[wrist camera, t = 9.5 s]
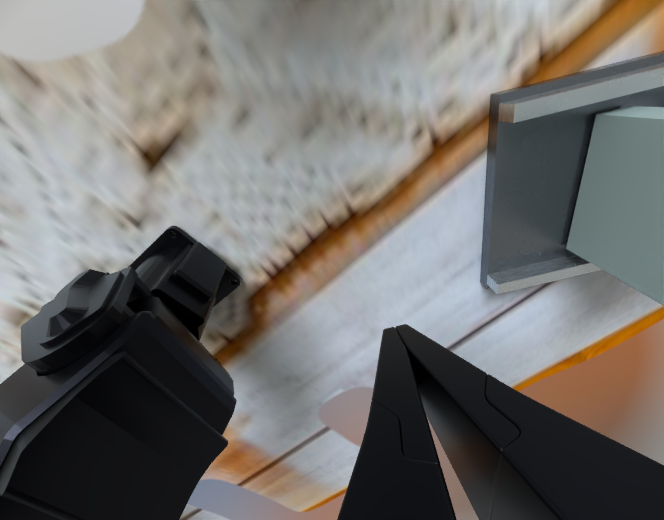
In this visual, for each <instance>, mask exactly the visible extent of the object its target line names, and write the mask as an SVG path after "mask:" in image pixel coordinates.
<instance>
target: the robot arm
mask: <svg viewBox="0 0 664 520" xmlns="http://www.w3.org/2000/svg"><path fill="white" fill-rule="evenodd" d="M171 231H173V232H175V233H176V234H177V236H175V235H173V234H172V233H171ZM232 280H236V281H237V282H233V281H232ZM240 283H241V277H240V276H239V275H238V274H236V273H235V272H234V271H233V270H231V269H230V268H229V267H228V266H226V263H225V262H223V261H222V260H221V259H220V258H218V257H217V256H216V255H215V254H213V253H212V252H211V251H210V250H208V249H207V248H206V247H205V246H203V245H202V244H201V243H198V242H196V241H195V240H194V239H193V238H191V237H190V236H189V235H188V234H186V233H185V232H184V231H183V230H181V229H180V228H178V227H177V226H171V227H169V228H168V229H167V230H166V231H165V232H164V233H163V234H162V235H161V236H160V237H159V238H158V239H157V240H156V241H155V242H154V243H153V244H152V245H150V246H149V247H148V248H147V249H146V250H145V251H144V252H143V253H142V254H141V255H140V256H139V257H138V258H137V259H136V260H135V261H134V262H133V263H132V264H131V265H130V266H129V267H128V268H126V269H123V270H121V271H118V272H115V273H112V274H109V273H108V272H107V273H103V272H99V271H95V270H91V269H90V270H88V271H85V272H83V273H81V274H79V275H78V276H77V277H76V278H75V279H73V280H72V281H71V282H70V283H69V284H67V285H66V286H65V287H64V288H63V289H62V290H61V291H60V292H59V293H58V294H57V295H56V297H55V299H54V300H52V301H50V302H48V303H47V304H45V305H44V306H43V307H42V308H41V311H40V312H39V313H38V314H37V315H35V316H34V317H33V318H31V319H30V320H29V321H27V322H26V323H25V324H23V325H22V327H21V350H22V361H23V362H24V363H25V364H24V365H23V366H22V367H20V368H19V369H18V370H17V371H16V372H14V373H13V374H12V375H11V376H10V377H9V378H7V379H6V380H5V381H4V382H3V383H1V384H0V520H179V519H180V517H181V515H182V513H183V511H184V509H185V506H186V504H187V502H188V500H189V498H190V496H191V494H192V492H193V490H194V489H195V487H196V485H197V483H198V481H199V480H200V479H201V477H202V476H203V474H204V473H205V471H206V470H207V469H208V467H209V466H210V464H211V463H212V462H213V461H214V460H215V458H216V457H217V456H218V455H219V454H220V453H221V452H222V451H223V450H224V449H225V448H226V447H227V445H228V440H226V439H225V438H224V437H223V436H222V435H223V433H224V431H225V429H226V427H227V425H228V423H229V421H230V419H231V417H232V415H233V412H234V408H235V405H236V399H235V398H234V397H233V396H234V387H233V380H232V378H231V377H230V375H229V373H228V372H227V371H226V370H225V369H224V368H223V367H222V365H221V363H220V362H219V361H218V360H217V359H216V358H214V357H213V356H212V355H211V354H210V353H209V351H208V350H207V349H206V348H205V347H204V346H203V345H202V344H201V343H200V342H199V341H200V338H201V336H202V333H203V331H204V328H205V326H206V323H207V321H208V318H209V316H210V313H211V310H212V308H213V307H214V306H215V305H216V304H217V303H219V302H220V301H221V300H222V299H224V298H225V297H226V296H227V295H228V294H230V293H231V292H232V291H233V290H235V289H236V288H237V287H238V286H239V285H240ZM426 415H427V417H428V419H429V421H430V423H431V425H432V427H433V429H434V431H435V433H436V435H437V437H438V439H439V441H440V443H441V445H442V447H443V449H444V451H445V453H446V455H447V457H448V459H449V461H450V463H451V465H452V467H453V469H454V471H455V473H456V475H457V477H458V479H459V481H460V483H461V485H462V487H463V489H464V491H465V493H466V494H467V496H468V498H469V500H470V502H471V504H472V506H473V508H474V510H475V512H476V514H477V516H478V518H479V520H664V465H662V464H660V463H658V462H656V461H654V460H652V459H650V458H648V457H646V456H644V455H642V454H640V453H638V452H636V451H634V450H632V449H630V448H628V447H626V446H624V445H622V444H620V443H618V442H616V441H614V440H612V439H610V438H608V437H606V436H604V435H602V434H600V433H598V432H596V431H594V430H592V429H590V428H588V427H586V426H584V425H582V424H580V423H578V422H576V421H574V420H572V419H570V418H568V417H566V416H564V415H562V414H561V413H558V412H557V411H555V410H553V409H551V408H549V407H546V406H545V405H543V404H540V403H538V402H537V401H535V400H533V399H531V398H529V397H527V396H525V395H523V394H521V393H520V392H518V391H516V390H514V389H513V388H511V387H509V386H507V385H506V384H504V383H502V382H500V381H499V380H497V379H496V378H494V377H492V376H491V375H487V374H486V373H485V372H483V371H482V370H480V369H479V368H477V367H475V366H474V365H472V364H470V363H469V362H467V361H466V360H464V359H462V358H461V357H459V356H457V355H456V354H454V353H452V352H451V351H449V350H448V349H446V348H444V347H443V346H441V345H439V344H438V343H436V342H435V341H433V340H431V339H430V338H428V337H426V336H425V335H423V334H422V333H420V332H418V331H417V330H415V329H413V328H412V327H410V326H408V325H406V324H404V325H400V326H396V327H395V328H394V327H391V328H387V329H384V330H383V335H382V341H381V347H380V353H379V359H378V366H377V372H376V378H375V384H374V391H373V397H372V402H371V407H370V413H369V418H368V423H367V427H366V431H365V434H364V438H363V441H362V445H361V448H360V451H359V454H358V457H357V460H356V463H355V466H354V469H353V472H352V476H351V479H350V482H349V485H348V488H347V491H346V494H345V497H344V500H343V503H342V507H341V510H340V513H339V516H338V519H337V520H456V516H455V513H454V509H453V507H452V503H451V499H450V496H449V492H448V489H447V486H446V482H445V478H444V475H443V472H442V468H441V466H440V461H439V458H438V455H437V451H436V448H435V444H434V441H433V438H432V434H431V431H430V427H429V423H428V420H427V417H426Z"/></svg>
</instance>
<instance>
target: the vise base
mask: <svg viewBox="0 0 664 520" xmlns="http://www.w3.org/2000/svg"><path fill="white" fill-rule="evenodd" d="M628 106H645V107H664V51H662V52H658V53H654V54H650V55H646V56H642V57H638V58H634V59H630V60H626V61H622V62H618V63H614V64H610V65H606V66H602V67H598V68H594V69H590V70H586V71H582V72H578V73H574V74H570V75H566V76H562V77H558V78H554V79H550V80H546V81H542V82H538V83H534V84H530V85H526V86H522V87H518V88H514V89H510V90H506V91H502V92H498V93H494V94H491V100H490V118H489V136H488V154H487V172H486V190H485V208H484V225H483V243H482V261H481V279H480V282H481V283H482V284H483V285H484V286H485V287H486V289H487V288H491V289H492V290H493V291H494V292H495V293H496V294H501V293H505V292H510V291H514V290H518V289H522V288H527V287H531V286H535V285H540V284H544V283H548V282H552V281H557V280H561V279H565V278H569V277H574V276H578V275H582V274H586V273H591V272H595V271H599V270H602V269H600V268H598V267H597V266H595V265H593V264H592V263H590V262H588V261H586V260H585V259H583V258H581V257H580V256H578V255H576V254H574V253H573V252H571V251H569V250H568V249H566V247H567V242H568V238H569V233H570V229H571V225H572V220H573V216H574V211H575V207H576V202H577V198H578V193H579V189H580V185H581V180H582V176H583V171H584V167H585V162H586V158H587V153H588V149H589V145H590V140H591V136H592V131H593V127H594V122H595V118H596V114H600V113H604V112H608V111H612V110H616V109H620V108H624V107H628Z"/></svg>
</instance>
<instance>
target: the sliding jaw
mask: <svg viewBox="0 0 664 520" xmlns="http://www.w3.org/2000/svg"><path fill="white" fill-rule="evenodd" d="M566 249H568V250H569V251H571V252H573V253H574V254H576V255H578V256H580V257H581V258H583V259H585V260H586V261H588V262H590V263H592V264H593V265H595V266H597V267H598V268H600V269H602V270H604V271H605V272H607V273H609V274H610V275H612V276H614V277H616V278H617V279H619V280H621V281H622V282H624V283H626V284H628V285H629V286H631V287H633V288H634V289H636V290H638V291H640V292H641V293H643V294H645V295H646V296H648V297H650V298H652V299H653V300H655V301H657V302H658V303H660V304H662V305H664V107H645V106H628V107H624V108H620V109H616V110H612V111H608V112H604V113H600V114H596V118H595V122H594V127H593V131H592V136H591V140H590V145H589V149H588V153H587V158H586V162H585V167H584V171H583V176H582V180H581V185H580V189H579V193H578V198H577V202H576V207H575V211H574V216H573V220H572V225H571V229H570V233H569V238H568V242H567V247H566Z"/></svg>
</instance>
